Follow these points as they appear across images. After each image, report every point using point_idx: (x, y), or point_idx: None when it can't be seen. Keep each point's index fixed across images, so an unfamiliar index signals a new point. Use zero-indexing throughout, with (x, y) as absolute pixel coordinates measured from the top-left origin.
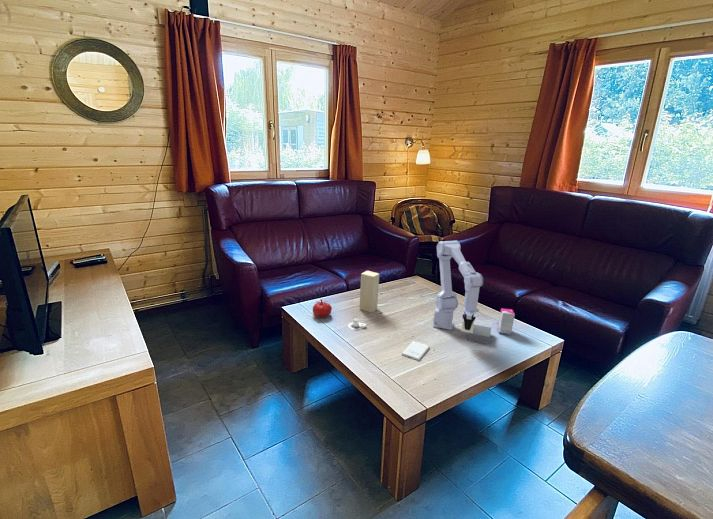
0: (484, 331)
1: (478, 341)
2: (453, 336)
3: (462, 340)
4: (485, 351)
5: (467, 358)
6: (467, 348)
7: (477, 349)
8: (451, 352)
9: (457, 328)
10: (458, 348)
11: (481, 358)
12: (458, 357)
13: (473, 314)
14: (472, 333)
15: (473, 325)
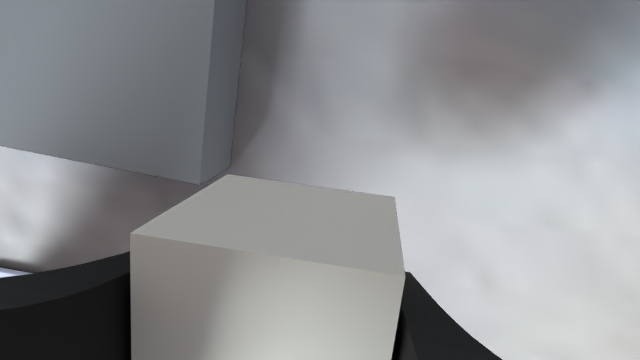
0: None
1: (239, 63)
2: None
3: None
4: (417, 5)
5: (586, 198)
6: (395, 181)
7: (393, 86)
8: (496, 325)
9: (58, 235)
10: (413, 260)
11: (568, 60)
12: (578, 276)
13: (45, 317)
14: (198, 138)
15: (401, 255)
